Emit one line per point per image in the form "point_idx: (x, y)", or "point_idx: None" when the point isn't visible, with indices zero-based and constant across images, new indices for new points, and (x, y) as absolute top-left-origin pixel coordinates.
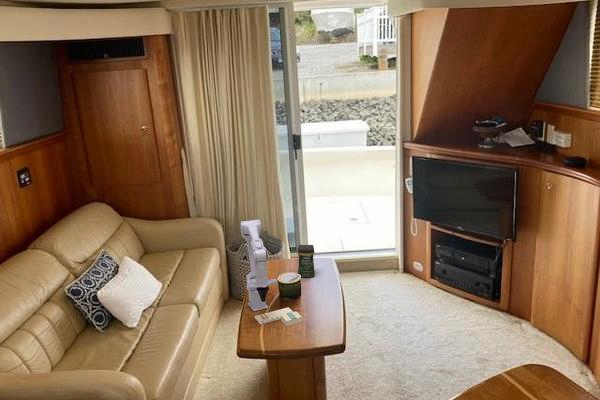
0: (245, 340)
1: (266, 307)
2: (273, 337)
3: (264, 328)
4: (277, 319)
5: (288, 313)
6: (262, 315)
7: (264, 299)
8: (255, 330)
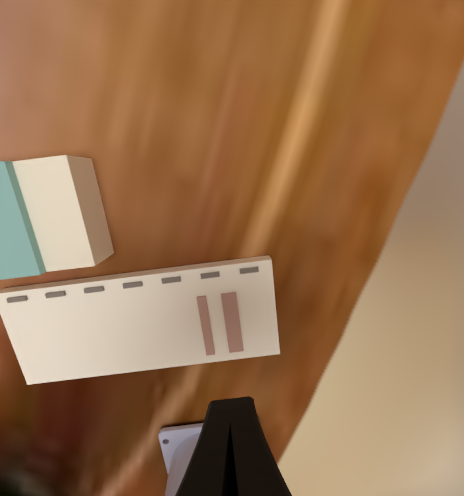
0: (440, 75)
1: (173, 430)
2: (230, 23)
3: (256, 192)
4: (137, 272)
5: (23, 261)
6: (226, 345)
7: (219, 427)
8: (323, 190)
